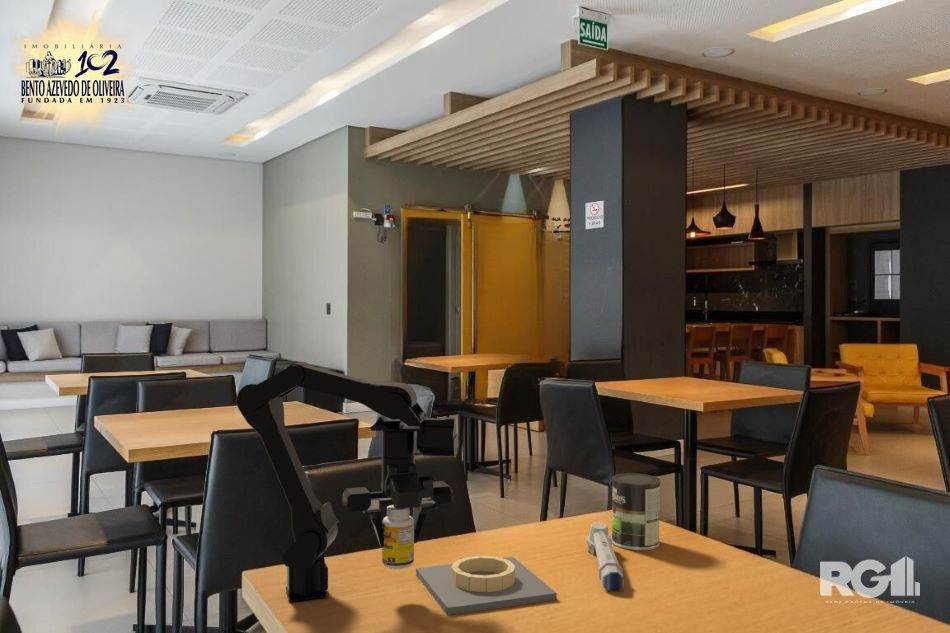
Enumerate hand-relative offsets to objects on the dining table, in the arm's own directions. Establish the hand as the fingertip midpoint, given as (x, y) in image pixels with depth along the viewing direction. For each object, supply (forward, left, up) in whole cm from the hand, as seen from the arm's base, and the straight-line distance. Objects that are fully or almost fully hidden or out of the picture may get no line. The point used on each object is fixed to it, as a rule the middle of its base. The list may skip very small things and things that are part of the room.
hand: (398, 544), depth 132 cm
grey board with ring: (+16, 0, -9) cm, 18 cm away
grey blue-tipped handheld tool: (+42, +2, -10) cm, 43 cm away
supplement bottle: (0, 0, -4) cm, 4 cm away
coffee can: (+56, +13, -10) cm, 58 cm away
